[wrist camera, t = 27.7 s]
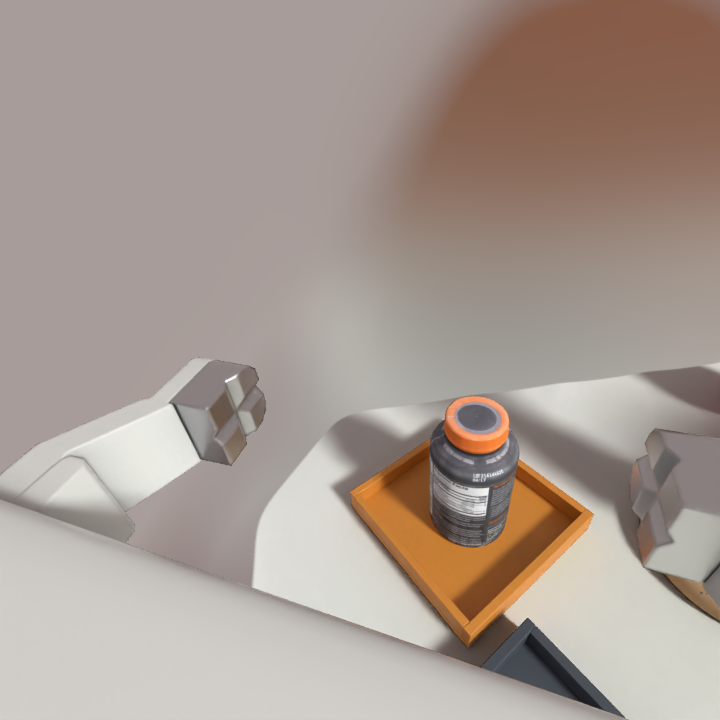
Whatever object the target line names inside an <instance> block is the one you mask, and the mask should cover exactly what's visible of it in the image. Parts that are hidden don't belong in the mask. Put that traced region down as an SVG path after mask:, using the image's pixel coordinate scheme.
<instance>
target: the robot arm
mask: <svg viewBox="0 0 720 720" xmlns="http://www.w3.org/2000/svg"><path fill="white" fill-rule="evenodd" d="M258 380H259V378H258V375H257V372H256V370H255V368H253V367H251V366H247V365H242V364H236V363H231V362H225V361H220V360H211V359H206V358H201V357H198V358H194V359H191V361H189V362H188V363H187V364H186V365H185V366H184V367H183V368H182V369H181V370H180V371H179V372H178V373H177V374H176V375H174V376H173V377H172V378H171V379H170V380H169V381H168V382H167V383H166V384H165V385H164V386H163V387H162V388H161V389H160V390H158V391H157V392H156V393H155V394H154V395H153V396H152V397H151V398H150V399H141V400H139V401H137V402H134V403H132V404H130V405H127V406H125V407H123V408H120V409H118V410H116V411H113V412H111V413H109V414H106V415H104V416H101V417H100V418H97V419H95V420H92V421H90V422H88V423H85V424H83V425H80V426H78V427H76V428H74V429H71V430H69V431H66V432H64V433H62V434H59V435H57V436H55V437H52V438H50V439H48V440H46V441H43V442H41V443H38V444H36V445H35V446H34V447H33V448H31V449H30V450H29V451H28V452H27V453H25V454H24V455H23V456H22V457H21V458H19V459H18V460H17V461H16V462H15V463H13V464H12V465H11V466H10V467H9V468H7V469H6V470H5V471H4V472H2V473H1V474H0V720H629V719H626V718H623V717H620V716H617V715H615V714H612V713H609V712H606V711H603V710H600V709H597V708H595V707H592V706H589V705H586V704H583V703H580V702H577V701H575V700H572V699H569V698H566V697H563V696H560V695H557V694H555V693H552V692H549V691H546V690H543V689H540V688H537V687H535V686H532V685H529V684H526V683H523V682H520V681H518V680H515V679H512V678H509V677H506V676H503V675H500V674H498V673H495V672H492V671H489V670H486V669H483V668H480V667H478V666H475V665H472V664H469V663H466V662H463V661H460V660H458V659H455V658H452V657H449V656H446V655H443V654H440V653H438V652H435V651H432V650H429V649H426V648H423V647H420V646H418V645H415V644H412V643H409V642H406V641H403V640H400V639H398V638H395V637H392V636H389V635H386V634H383V633H381V632H378V631H375V630H372V629H369V628H366V627H363V626H361V625H358V624H355V623H352V622H349V621H346V620H343V619H341V618H338V617H335V616H332V615H329V614H326V613H323V612H321V611H318V610H315V609H312V608H309V607H306V606H303V605H301V604H298V603H295V602H292V601H289V600H286V599H283V598H281V597H278V596H275V595H272V594H269V593H266V592H263V591H261V590H258V589H255V588H252V587H249V586H246V585H243V584H241V583H238V582H235V581H232V580H229V579H226V578H224V577H221V576H218V575H215V574H212V573H209V572H206V571H203V570H201V569H198V568H195V567H192V566H189V565H186V564H183V563H181V562H178V561H175V560H172V559H169V558H166V557H163V556H160V555H158V554H155V553H152V552H149V551H146V550H143V549H140V548H138V547H135V546H132V545H129V544H126V541H127V540H128V539H129V537H130V536H131V535H132V534H133V532H134V531H135V524H134V523H133V522H132V521H131V519H130V518H129V517H128V515H127V514H126V513H125V512H126V511H128V510H129V509H131V508H132V507H134V506H135V505H137V504H138V503H140V502H141V501H143V500H144V499H146V498H147V497H149V496H150V495H152V494H153V493H155V492H156V491H158V490H159V489H160V488H162V487H164V486H165V485H166V484H168V483H169V482H171V481H172V480H174V479H175V478H177V477H178V476H180V475H181V474H183V473H184V472H186V471H187V470H189V469H190V468H192V467H193V466H195V465H196V464H198V463H199V462H201V460H200V459H202V460H206V461H211V462H216V463H220V464H225V465H230V466H232V464H233V463H234V462H235V460H236V459H237V457H238V456H239V455H240V453H241V452H242V450H243V449H244V447H245V446H246V445H247V442H246V436H247V435H249V434H251V433H253V432H255V431H257V429H258V428H259V426H260V425H261V423H262V421H263V418H264V415H265V411H266V400H265V397H264V394H263V392H261V390H260V389H259V388H258V387H257V386H256V384H257V382H258ZM645 446H646V450H647V454H648V455H645V456H643V457H641V458H639V459H637V460H636V463H635V465H634V467H633V470H632V473H631V479H630V485H629V489H630V501H631V507H632V510H633V511H634V512H635V514H636V515H637V516H638V517H639V518H640V519H641V520H642V522H641V524H640V526H639V527H638V529H637V531H636V534H637V539H638V545H639V550H640V555H641V560H642V565H643V568H646V569H650V570H654V571H657V572H661V573H665V574H668V575H672V576H676V577H680V578H683V579H687V580H691V581H694V582H698V583H702V584H703V586H702V587H703V588H704V589H705V591H706V592H707V593H708V594H709V596H710V597H711V598H712V600H713V601H714V602H715V603H716V605H717V606H718V607H719V609H720V438H717V437H710V436H703V435H696V434H689V433H683V432H676V431H669V430H662V429H656V428H655V429H654V430H653V431H652V432H651V433H650V434H649V436H648V438H647V440H646V442H645Z"/></svg>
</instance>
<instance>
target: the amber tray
mask: <svg viewBox="0 0 720 720" xmlns="http://www.w3.org/2000/svg"><path fill="white" fill-rule="evenodd" d="M430 440H431V438H430V439H429V440H427V441H426V442H424V443H423V444H421V445H420V446H418V447H417V448H415V449H414V450H412V451H411V452H409V453H408V454H406V455H405V456H403V457H402V458H400V459H399V460H397V461H396V462H394V463H393V464H391V465H390V466H388V467H387V468H385V469H384V470H382V471H381V472H379V473H378V474H376V475H375V476H373V477H372V478H370V479H369V480H367V481H366V482H364V483H363V484H361V485H360V486H358V487H357V488H355V489H354V490H352V491H351V492H350V496H351V501H352V507H353V508H354V509H355V510H356V512H357V513H358V514H359V515H360V516H361V518H362V519H363V520H364V521H365V523H366V524H367V525H368V526H369V528H370V529H371V530H372V531H373V532H374V534H375V535H376V536H377V537H378V539H379V540H380V541H381V542H382V543H383V545H384V546H385V547H386V548H387V550H388V551H389V552H390V553H391V555H392V556H393V557H394V558H395V559H396V561H397V562H398V563H399V564H400V566H401V567H402V568H403V569H404V571H405V572H406V573H407V574H408V575H409V577H410V578H411V579H412V580H413V582H414V583H415V584H416V585H417V586H418V588H419V589H420V590H421V591H422V593H423V594H424V595H425V596H426V598H427V599H428V600H429V601H430V602H431V604H432V605H433V606H434V607H435V609H436V610H437V611H438V612H439V613H440V615H441V616H442V617H443V618H444V620H445V621H446V622H447V623H448V625H449V626H450V627H451V628H452V629H453V631H454V632H455V633H456V634H457V636H458V637H459V638H460V639H461V641H462V642H463V643H464V644H465V645H466V647H467V648H469V647H470V646H471V645H472V644H473V643H474V642H475V641H476V640H477V639H478V638H479V637H480V636H481V635H482V634H483V633H484V632H485V631H486V630H487V629H488V628H489V627H490V626H491V625H492V624H493V623H494V622H495V621H496V620H497V619H498V618H499V617H500V616H501V615H502V614H503V613H504V612H505V611H506V610H507V609H508V608H509V607H510V606H511V605H512V604H513V603H514V602H515V601H516V600H517V599H518V598H519V597H520V596H521V595H522V594H523V593H524V592H525V591H526V590H527V589H528V588H529V587H530V586H531V585H532V584H533V583H534V582H535V581H536V580H537V579H538V578H539V577H540V576H541V575H542V574H543V573H544V572H545V571H546V570H547V569H548V568H549V567H550V566H551V565H552V564H553V563H554V562H555V561H556V560H557V559H558V558H559V557H560V556H561V555H562V554H563V553H564V552H565V551H566V550H567V549H568V548H569V547H570V546H571V545H572V544H573V543H574V542H575V541H576V540H577V539H578V538H579V537H580V536H581V535H582V534H583V533H584V532H585V531H586V530H587V529H588V527H589V524H590V522H591V520H592V518H593V515H594V514H593V513H592V512H590V511H589V510H588V509H586V508H585V507H584V506H582V505H581V504H580V503H578V502H577V501H575V500H574V499H573V498H571V497H570V496H569V495H567V494H566V493H565V492H563V491H562V490H560V489H559V488H558V487H556V486H555V485H554V484H552V483H551V482H550V481H548V480H547V479H545V478H544V477H543V476H541V475H540V474H539V473H537V472H536V471H534V470H533V469H532V468H530V467H529V466H528V465H526V464H525V463H524V462H522V461H521V460H518V465H517V470H516V475H515V480H514V485H513V490H512V494H511V499H510V505H509V510H508V515H507V520H506V524H505V528H504V530H503V532H502V533H501V535H500V536H499V537H498V538H497V539H496V540H495V541H494V542H492V543H490V544H488V545H486V546H482V547H477V548H469V547H463V546H460V545H457V544H454V543H452V542H450V541H449V540H447V539H446V538H445V537H443V536H442V535H441V534H440V533H439V532H438V530H437V529H436V528H435V526H434V524H433V522H432V519H431V516H430Z"/></svg>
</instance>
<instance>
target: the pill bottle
mask: <svg viewBox="0 0 720 720" xmlns="http://www.w3.org/2000/svg"><path fill="white" fill-rule="evenodd" d="M518 460H519V446H518V443H517V440H516V438H515V436H514V435H513V433H512V431H511V430H510V429H509V417H508V414H507V412H506V411H505V409H504V408H503V407H502V406H501V405H500V404H498V403H497V402H495V401H493V400H491V399H488V398H485V397H479V396H468V397H463V398H460V399H458V400H456V401H454V402H453V403H451V404H450V405H449V407H448V408H447V410H446V413H445V420H444V421H442V422H441V423H440V424H439V425H438V426H437V427H436V429H435V430H434V432H433V434H432V436H431V440H430V516H431V519H432V522H433V524H434V526H435V528H436V529H437V530H438V532H439V533H440V534H441V535H442V536H443V537H445V538H446V539H447V540H449V541H450V542H452V543H454V544H457V545H460V546H463V547H469V548H477V547H482V546H486V545H488V544H490V543H492V542H494V541H495V540H496V539H497V538H498V537H499V536H500V535H501V533H502V532H503V530H504V528H505V524H506V520H507V515H508V510H509V505H510V499H511V494H512V490H513V485H514V480H515V475H516V470H517V465H518Z"/></svg>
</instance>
